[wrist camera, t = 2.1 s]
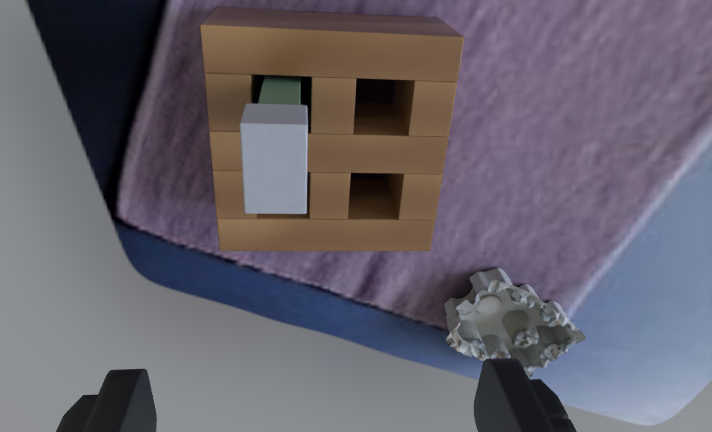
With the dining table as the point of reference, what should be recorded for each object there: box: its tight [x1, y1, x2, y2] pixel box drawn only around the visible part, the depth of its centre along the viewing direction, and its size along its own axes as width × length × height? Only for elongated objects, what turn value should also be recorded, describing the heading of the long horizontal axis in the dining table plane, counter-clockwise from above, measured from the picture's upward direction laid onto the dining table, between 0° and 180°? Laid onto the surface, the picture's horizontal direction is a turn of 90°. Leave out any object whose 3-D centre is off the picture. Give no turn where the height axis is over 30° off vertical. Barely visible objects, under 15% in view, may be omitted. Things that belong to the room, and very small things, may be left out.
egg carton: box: [444, 268, 586, 378], centre depth 43 cm, size 11×8×4 cm
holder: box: [200, 7, 464, 251], centre depth 32 cm, size 14×14×6 cm
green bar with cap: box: [240, 75, 308, 214], centre depth 27 cm, size 4×3×14 cm, turn 177°
